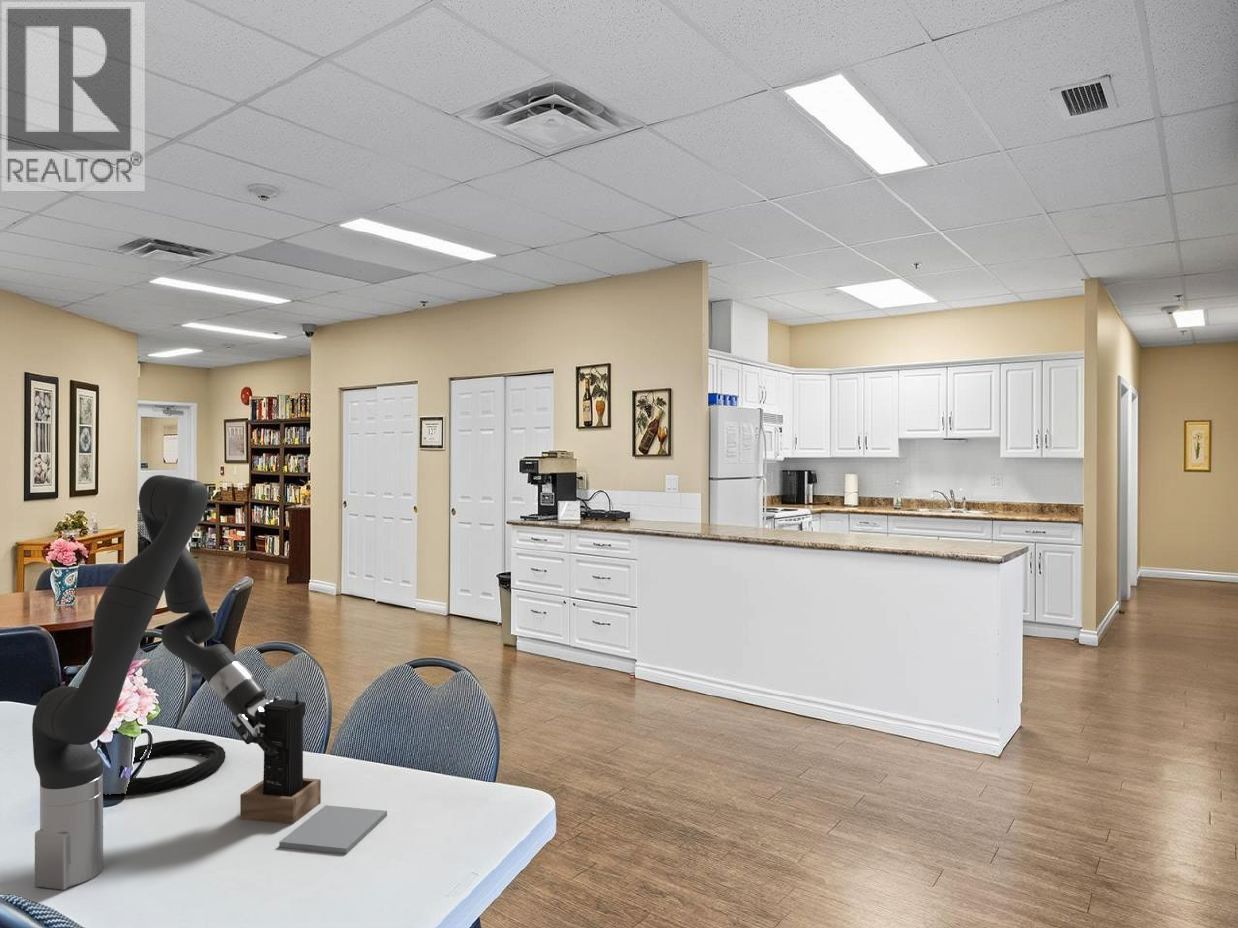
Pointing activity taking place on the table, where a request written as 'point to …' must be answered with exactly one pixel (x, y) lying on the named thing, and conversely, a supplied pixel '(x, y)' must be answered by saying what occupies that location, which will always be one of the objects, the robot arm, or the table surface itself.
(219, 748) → the cable lock
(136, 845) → the table surface
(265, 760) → the portable radio
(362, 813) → the slate mat
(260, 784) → the walnut collar
